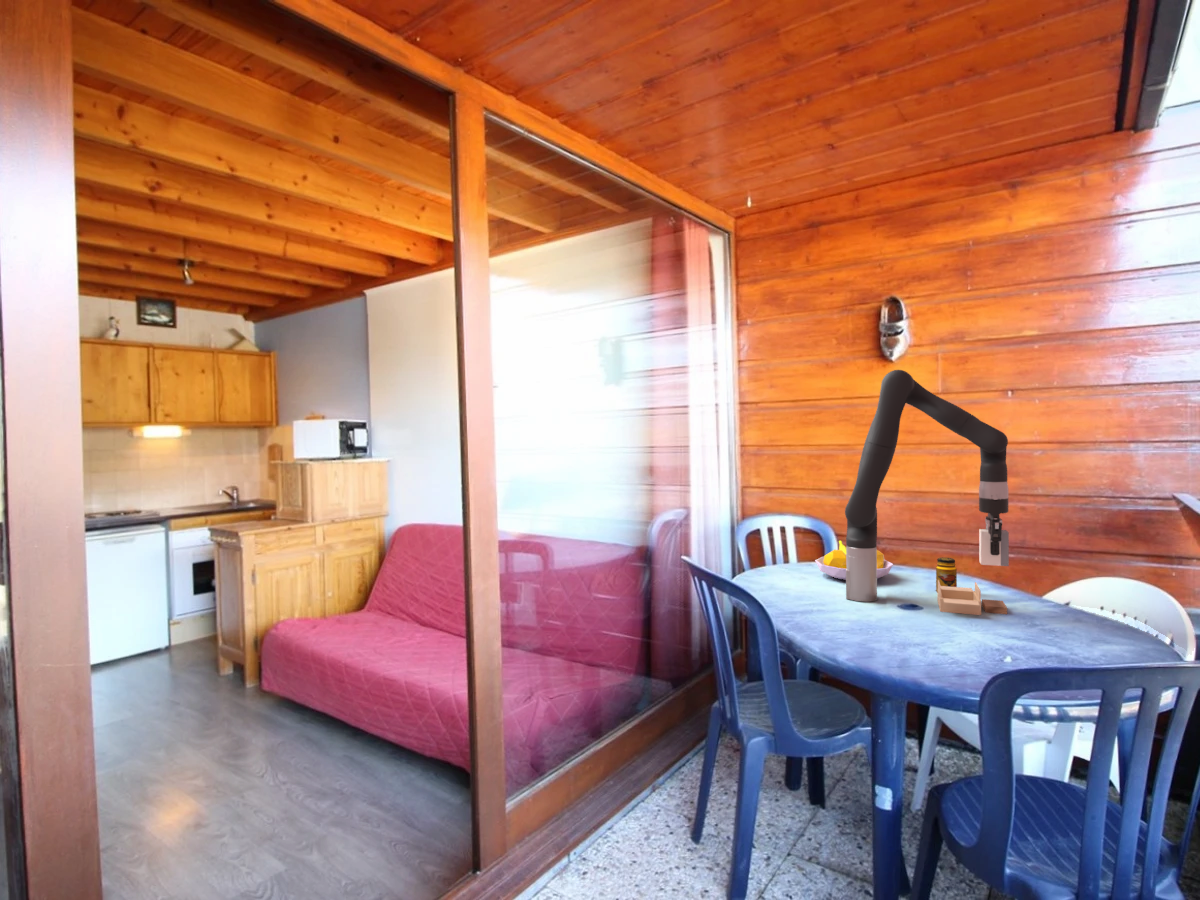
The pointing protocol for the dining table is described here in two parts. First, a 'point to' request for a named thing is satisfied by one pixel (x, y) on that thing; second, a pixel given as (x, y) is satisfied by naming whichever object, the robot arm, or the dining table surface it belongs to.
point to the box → (984, 549)
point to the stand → (994, 606)
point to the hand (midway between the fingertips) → (993, 552)
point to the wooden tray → (959, 599)
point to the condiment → (946, 572)
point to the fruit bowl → (837, 563)
